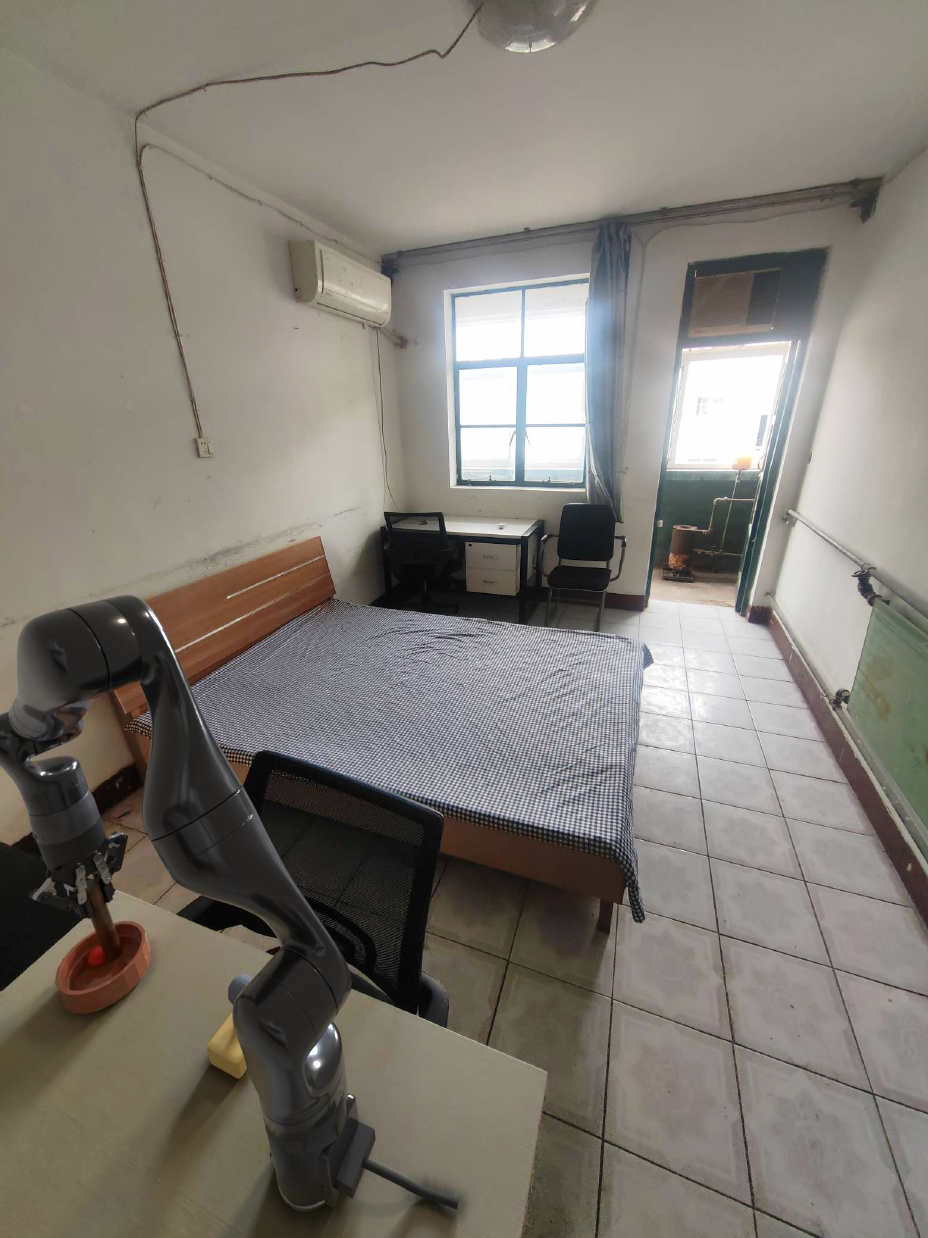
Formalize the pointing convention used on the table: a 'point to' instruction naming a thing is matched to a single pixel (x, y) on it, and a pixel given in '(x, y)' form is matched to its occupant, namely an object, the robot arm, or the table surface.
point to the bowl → (103, 970)
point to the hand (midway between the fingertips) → (97, 907)
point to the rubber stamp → (229, 1037)
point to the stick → (103, 922)
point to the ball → (96, 956)
